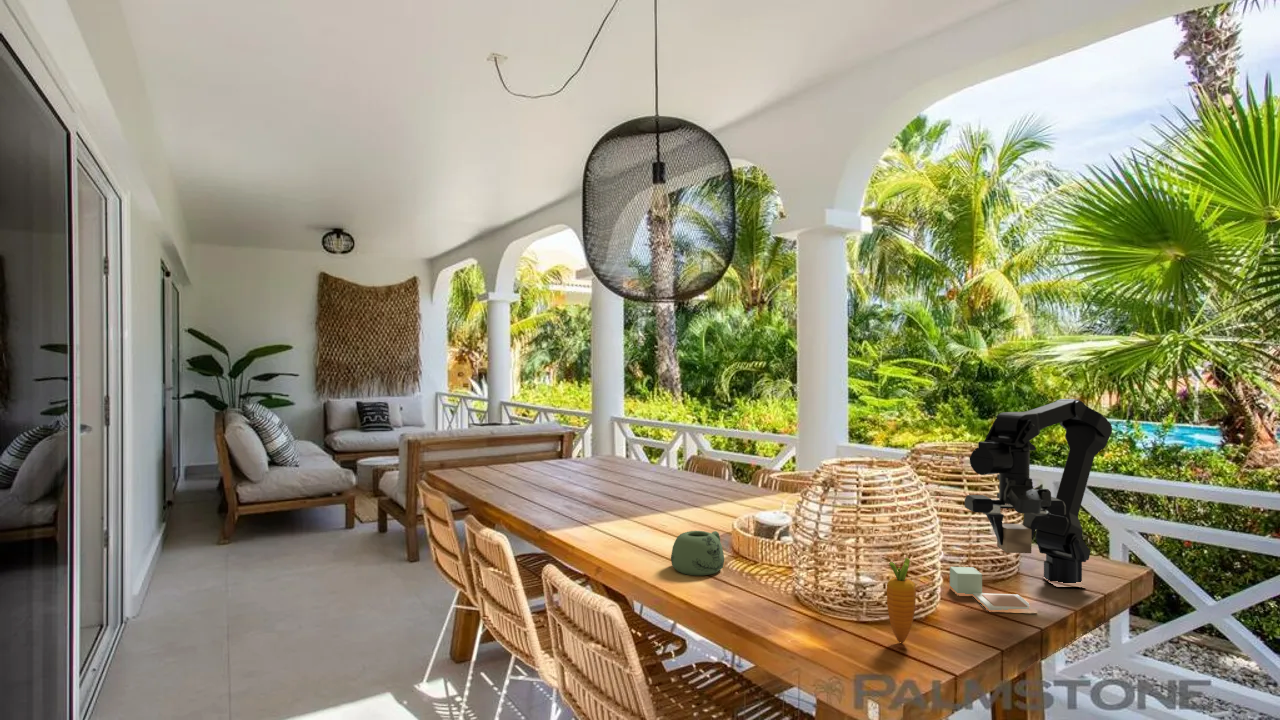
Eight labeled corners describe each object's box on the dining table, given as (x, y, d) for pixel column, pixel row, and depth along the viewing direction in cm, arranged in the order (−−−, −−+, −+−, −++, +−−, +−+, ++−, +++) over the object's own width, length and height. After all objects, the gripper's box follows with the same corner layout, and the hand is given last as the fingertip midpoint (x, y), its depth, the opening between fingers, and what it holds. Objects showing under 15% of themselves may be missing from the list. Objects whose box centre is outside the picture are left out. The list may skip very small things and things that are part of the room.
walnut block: (1021, 547, 155) (1021, 524, 155) (1031, 553, 150) (1031, 529, 150) (997, 546, 155) (997, 523, 155) (1006, 552, 150) (1006, 528, 150)
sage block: (973, 590, 156) (973, 567, 156) (982, 597, 151) (982, 574, 151) (949, 589, 156) (949, 566, 156) (957, 597, 151) (957, 573, 151)
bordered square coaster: (1017, 599, 150) (1017, 593, 150) (1037, 614, 141) (1037, 608, 141) (973, 597, 150) (973, 592, 150) (989, 612, 141) (989, 606, 141)
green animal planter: (704, 581, 161) (704, 543, 161) (659, 571, 170) (659, 534, 170) (741, 565, 174) (741, 530, 174) (697, 556, 182) (697, 522, 182)
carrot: (889, 648, 124) (889, 562, 124) (884, 637, 129) (884, 554, 129) (919, 649, 123) (919, 563, 123) (912, 638, 128) (912, 555, 128)
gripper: (983, 477, 145) (982, 553, 145) (1079, 479, 143) (1079, 556, 143) (963, 468, 156) (963, 539, 156) (1053, 470, 154) (1053, 542, 154)
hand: (1013, 544), depth 152 cm, fingers closed on walnut block, 5 cm apart
